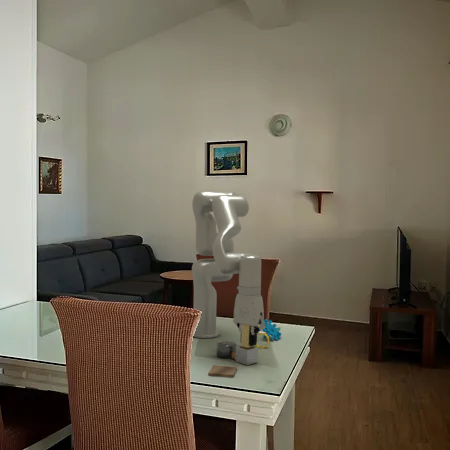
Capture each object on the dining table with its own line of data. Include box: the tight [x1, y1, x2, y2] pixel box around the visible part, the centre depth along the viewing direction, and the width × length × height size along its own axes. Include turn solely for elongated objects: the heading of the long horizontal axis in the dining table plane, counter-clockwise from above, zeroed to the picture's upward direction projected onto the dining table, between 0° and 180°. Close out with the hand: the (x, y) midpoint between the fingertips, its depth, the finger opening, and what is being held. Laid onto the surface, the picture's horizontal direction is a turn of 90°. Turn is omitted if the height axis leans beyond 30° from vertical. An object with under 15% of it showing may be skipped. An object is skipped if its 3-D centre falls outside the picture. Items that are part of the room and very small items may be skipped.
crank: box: [216, 340, 259, 366], centre depth 171 cm, size 16×7×5 cm, turn 43°
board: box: [207, 364, 238, 378], centre depth 156 cm, size 8×8×1 cm
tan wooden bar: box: [240, 324, 255, 349], centre depth 167 cm, size 3×3×12 cm
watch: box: [254, 330, 270, 349], centre depth 186 cm, size 6×3×6 cm, turn 77°
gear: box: [262, 318, 282, 342], centre depth 200 cm, size 11×6×10 cm
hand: (248, 343), depth 167 cm, fingers closed on tan wooden bar, 3 cm apart
